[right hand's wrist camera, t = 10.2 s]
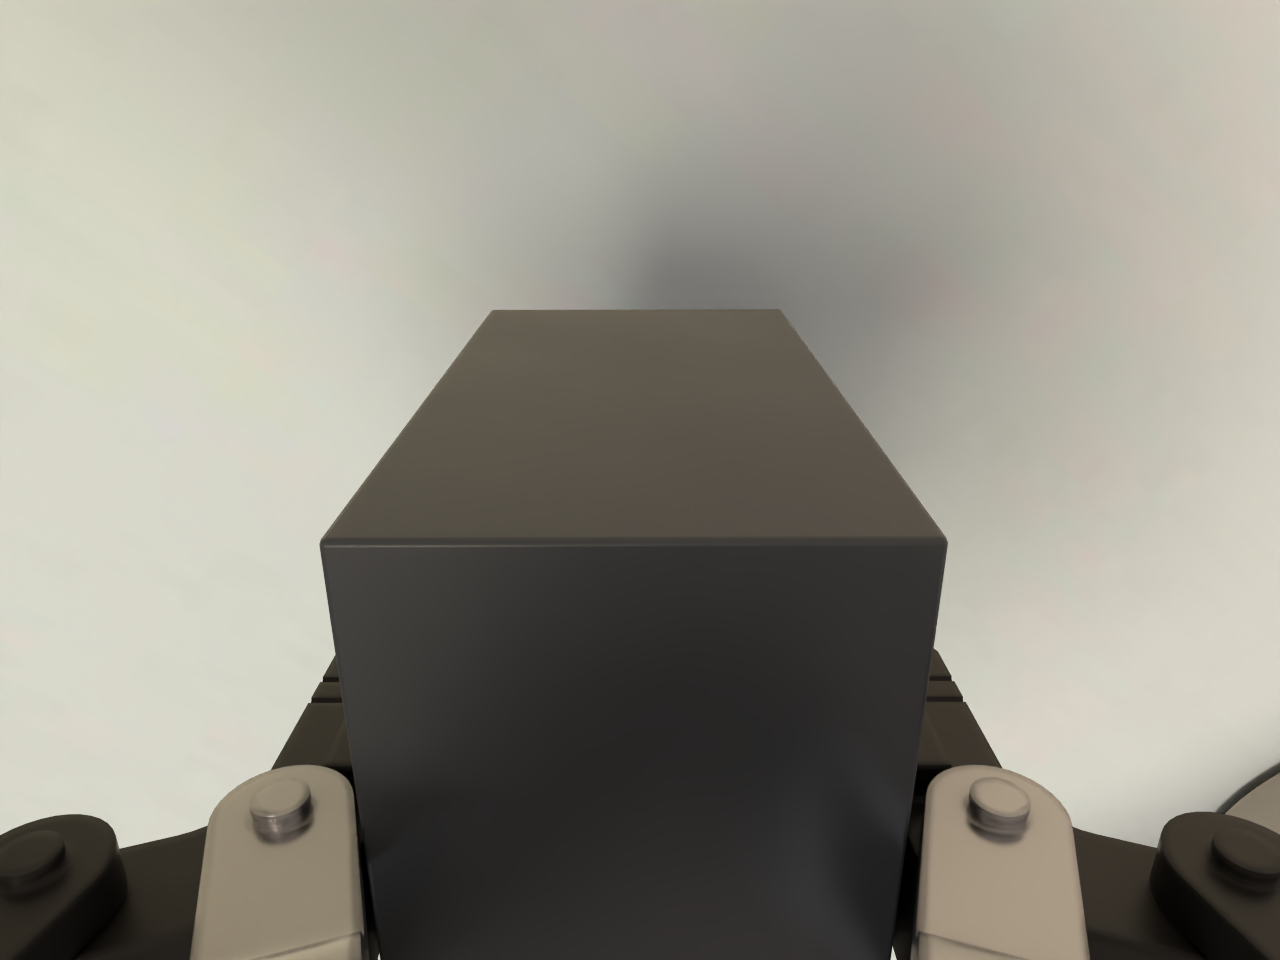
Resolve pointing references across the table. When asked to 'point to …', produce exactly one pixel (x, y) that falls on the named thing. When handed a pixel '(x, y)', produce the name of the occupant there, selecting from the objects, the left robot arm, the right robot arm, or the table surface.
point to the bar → (634, 649)
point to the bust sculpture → (1261, 805)
